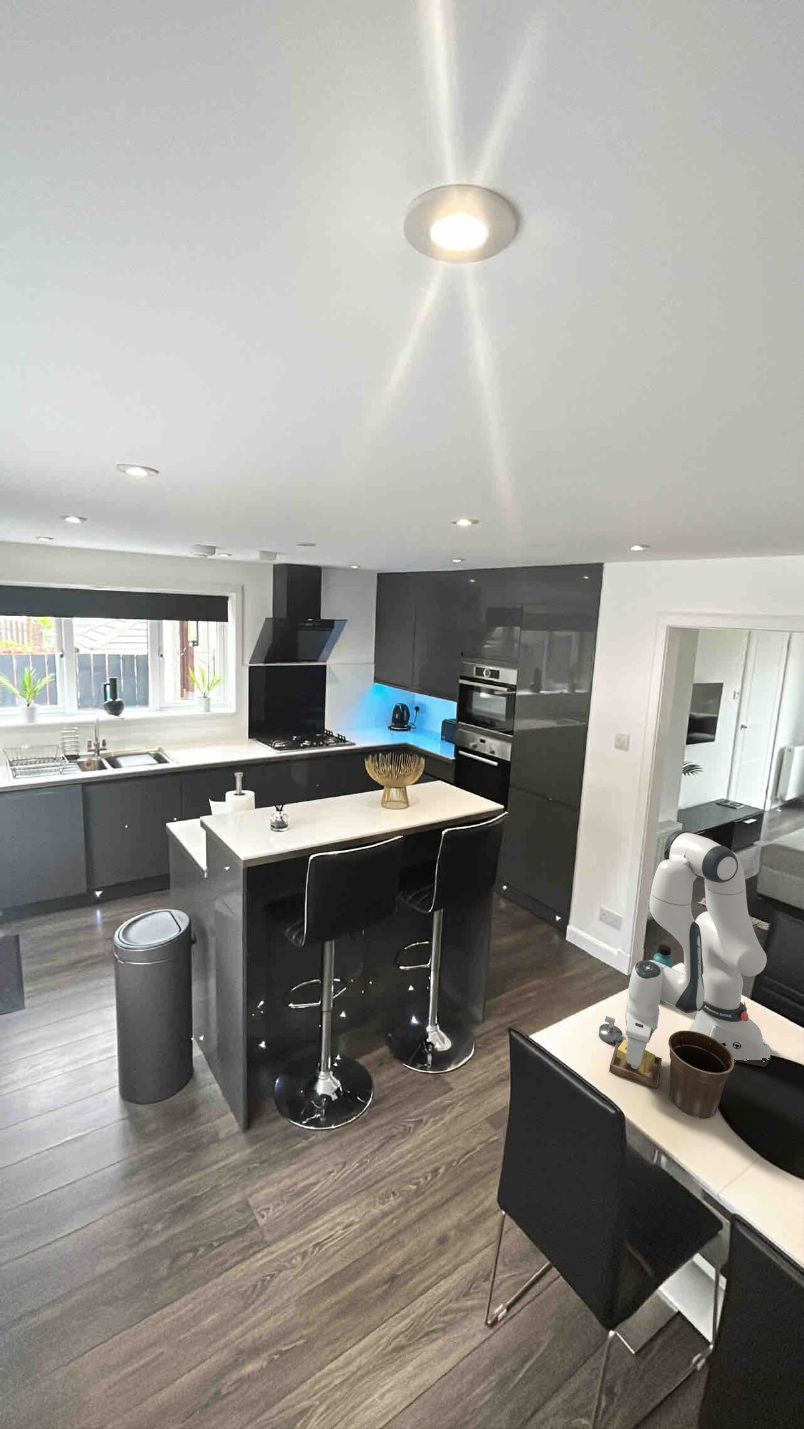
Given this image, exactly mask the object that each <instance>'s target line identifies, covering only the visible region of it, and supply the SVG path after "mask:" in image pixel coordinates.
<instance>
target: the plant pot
mask: <svg viewBox="0 0 804 1429" xmlns="http://www.w3.org/2000/svg"><path fill="white" fill-rule="evenodd" d="M668 1048H669V1059H670V1063H669V1064H670V1067H669V1083H668V1084H669V1085H668V1086H669V1087H668V1094H669V1098H670V1101H671V1102H672V1103H673V1105H674V1106H675V1107H676V1108H677V1109H679V1110H680V1111H681V1112H682V1113H684V1114H685V1115H687V1116H689V1117H698V1118H699V1119H700V1120H706V1119H710V1118H713V1117H714V1116H715V1115H716V1114H717V1112H718V1108H719V1105H720V1102H721V1099H722V1095H723V1091H724V1089H725V1085H726V1082H727V1080H728V1079H729V1076H730V1073H731V1071H733V1069H734V1068H735V1067H734V1066H735V1061H734V1059H733V1056H732V1054H731V1053H730V1052H729V1050H728V1049H727V1048H726V1047H725V1046H724V1045H722V1044H721V1043H720V1042H718V1041H717V1040H715V1039H713V1038H711V1037H709V1036H707V1035H705V1034H702V1033H698V1032H694V1031H690V1030H678V1031H676V1032H674V1033H672V1034H671V1035H670V1036H669V1038H668Z"/></svg>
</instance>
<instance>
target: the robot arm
mask: <svg viewBox="0 0 804 1429" xmlns="http://www.w3.org/2000/svg"><path fill="white" fill-rule="evenodd" d="M663 859H664V860H662V861H661V862H659V864H658V866H657V868H656V870H655V874H654V876H653V879H652V883H651V888H650V896H649V902H648V903H649V905H648V906H649V912H650V914H651V916H652V918H653V919H654V921H656V922H655V923H657V924H658V925H659V926H660V927H661V928H663V929H664V930H665V931H667V932H668V933H669V934H670V935H672V937H674V938H675V940H677V942H678V943H679V944H680V946H681V947H682V950H683V967H684V968H683V969H684V972H680V971H678V970H676V969H674V968H673V967H672V968H670V967H668V966H666V965H664V964H661V963H659V962H657V961H653V960H654V959H648V960H639V961H637V962H636V963H635V964H634V965H633V968H632V971H631V973H630V978H629V983H628V999H627V1001H626V1008H625V1016H624V1018H625V1024H626V1025H625V1036H626V1040H627V1062H628V1063H629V1064H631V1067H632V1068H634V1069H638V1067H640V1065H641V1063H642V1059H643V1056H644V1052H645V1050H646V1048H647V1045H648V1044H649V1043H650V1040H651V1038H652V1035H653V1034H654V1032H655V1031H657V1028H658V1025H659V1016H660V1006H659V1004H660V1002H661V1000H662V1001H663V1002H665V1003H666V1004H668V1005H670V1006H673V1007H675V1008H676V1009H677V1010H680V1011H681V1012H683V1013H684V1014H693V1013H695V1012H696V1014H695V1017H694V1020H693V1022H692V1024H691V1025H690V1027H689V1031H694V1032H698V1033H702V1034H705V1035H707V1036H709V1037H711V1038H713V1039H715V1040H717V1041H718V1042H720V1043H721V1044H722V1045H724V1046H725V1047H726V1048H727V1049H728V1050H729V1052H730V1053H731V1054H732V1056H733V1059H735V1060H744V1061H747V1060H762V1058H766V1059H767V1060H769V1059H768V1058H770V1059H771V1051H770V1047H769V1045H768V1043H767V1042H766V1040H765V1039H764V1037H763V1033H762V1031H761V1028H760V1026H759V1025H758V1024H757V1023H756V1022H754V1021H753V1020H752V1019H751V1018H750V1017H749V1014H748V1012H747V1010H748V1007H747V1006H746V1002H745V1001H744V1002H742V1001H741V999H742V994H743V988H744V987H743V986H744V979H743V976H744V977H754V976H757V975H759V974H760V973H762V972H763V971H764V969H765V967H766V966H767V961H768V959H767V958H768V957H767V954H766V952H765V950H764V949H763V948H762V946H761V944H760V942H759V940H758V937H757V935H756V932H755V929H754V926H753V923H752V920H751V917H750V914H749V910H748V902H747V886H746V878H745V872H744V868H743V867H744V866H743V865H742V861H741V857H740V856H739V855H737V853H736V852H734V851H732V850H730V849H729V848H728V847H727V846H725V845H722V844H719V843H718V842H716V841H714V840H713V839H710V838H708V837H705V836H702V835H698V834H696V833H694V832H691V831H688V830H682V829H681V830H680V829H679V830H675V831H673V832H672V833H671V834H670V835H669V836H668V838H667V839H666V842H665V844H664V852H663ZM698 876H700V877H702V878H704V892H705V895H704V896H705V906H706V910H707V911H704V912H702V913H700V914H699V915H698V916H697V917H696V919H695V918H694V916H693V913H692V899H693V890H694V889H693V888H694V882H695V880H696V879H697V878H698ZM746 1059H747V1060H746ZM763 1062H765V1061H763Z"/></svg>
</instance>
